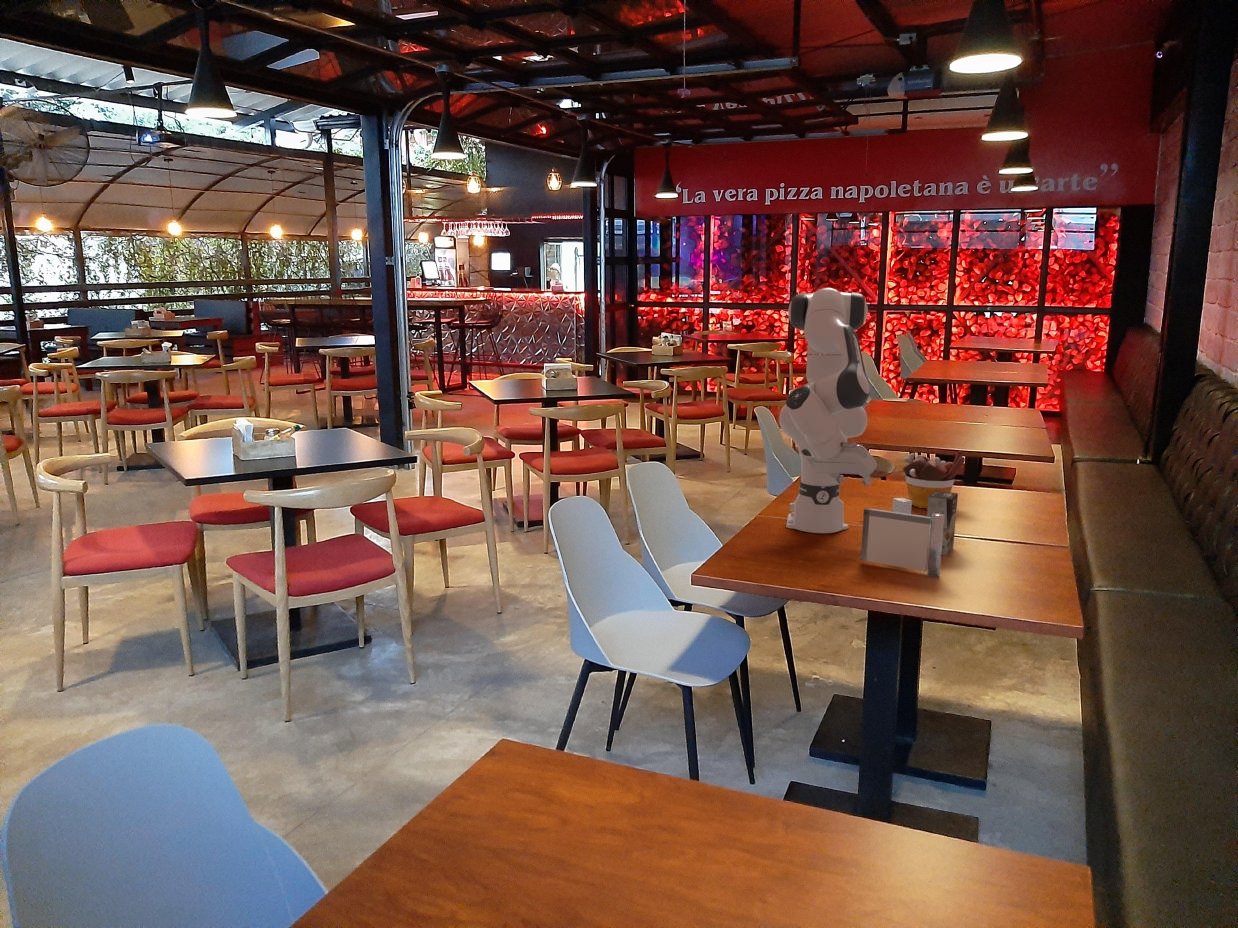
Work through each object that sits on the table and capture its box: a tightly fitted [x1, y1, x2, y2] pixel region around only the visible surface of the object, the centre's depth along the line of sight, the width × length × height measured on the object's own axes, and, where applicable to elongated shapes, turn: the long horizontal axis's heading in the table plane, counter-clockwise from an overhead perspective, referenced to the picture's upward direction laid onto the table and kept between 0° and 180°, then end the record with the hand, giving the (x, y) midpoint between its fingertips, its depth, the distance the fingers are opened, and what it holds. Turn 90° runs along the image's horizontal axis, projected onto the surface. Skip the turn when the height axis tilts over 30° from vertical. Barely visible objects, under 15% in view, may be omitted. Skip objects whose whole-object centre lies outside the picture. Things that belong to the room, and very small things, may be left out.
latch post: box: [891, 497, 913, 514], centre depth 245 cm, size 4×3×16 cm
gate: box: [860, 507, 931, 572], centre depth 234 cm, size 17×2×14 cm, turn 56°
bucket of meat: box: [902, 450, 966, 510], centre depth 304 cm, size 20×16×20 cm
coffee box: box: [926, 491, 959, 556], centre depth 252 cm, size 9×6×16 cm
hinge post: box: [926, 513, 944, 578], centre depth 229 cm, size 3×3×16 cm
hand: (854, 482), depth 232 cm, fingers open, 8 cm apart
